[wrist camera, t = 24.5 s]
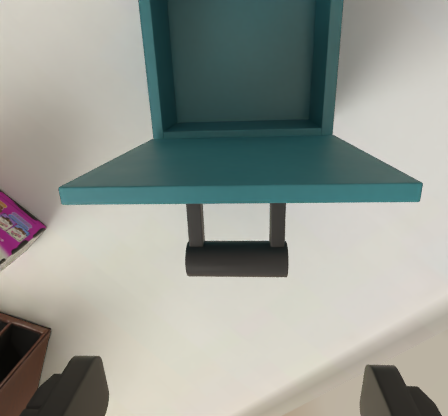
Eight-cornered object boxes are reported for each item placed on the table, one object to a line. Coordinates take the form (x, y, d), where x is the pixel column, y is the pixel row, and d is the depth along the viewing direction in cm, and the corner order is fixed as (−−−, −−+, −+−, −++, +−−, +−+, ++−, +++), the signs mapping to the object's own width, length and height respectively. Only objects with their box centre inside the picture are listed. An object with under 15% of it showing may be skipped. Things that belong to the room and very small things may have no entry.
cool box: (157, -28, 30) (131, -56, 23) (326, -38, 29) (349, -71, 22) (171, 130, 35) (153, 142, 28) (316, 126, 34) (332, 138, 27)
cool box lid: (57, 187, 14) (79, 296, 16) (423, 182, 13) (403, 301, 15) (151, 139, 28) (158, 200, 30) (333, 134, 27) (328, 199, 28)
